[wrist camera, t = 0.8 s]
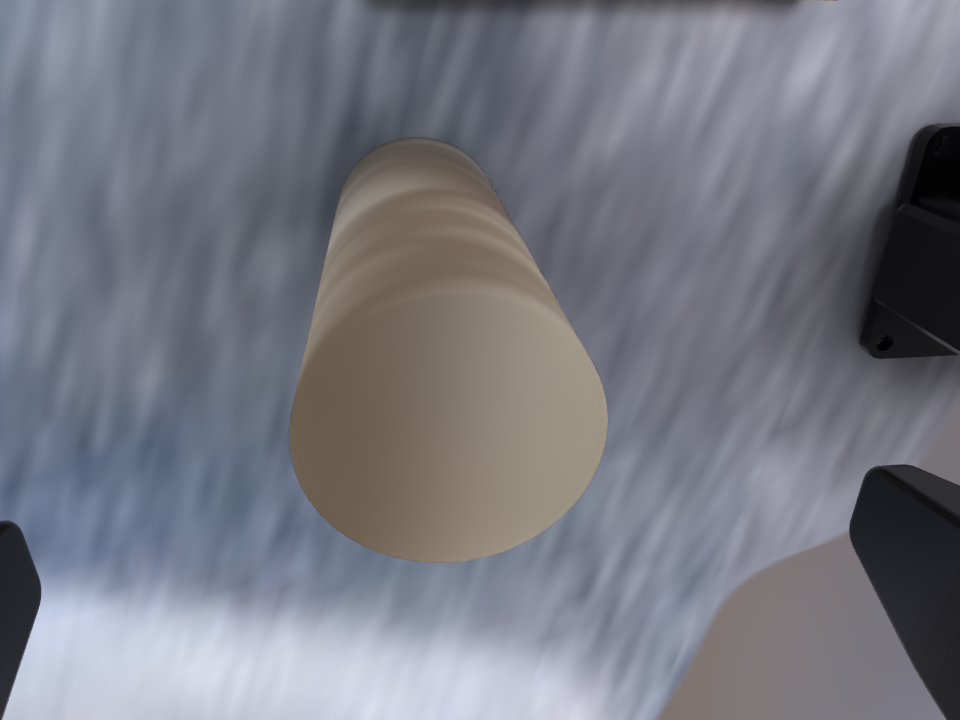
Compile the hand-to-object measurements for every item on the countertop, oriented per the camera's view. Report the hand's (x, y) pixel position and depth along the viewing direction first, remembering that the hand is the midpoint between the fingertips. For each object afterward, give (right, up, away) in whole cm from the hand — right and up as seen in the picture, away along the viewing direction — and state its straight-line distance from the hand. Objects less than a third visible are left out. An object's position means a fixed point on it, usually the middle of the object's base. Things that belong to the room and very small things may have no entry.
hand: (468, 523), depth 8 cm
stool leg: (-1, +5, +10) cm, 12 cm away
